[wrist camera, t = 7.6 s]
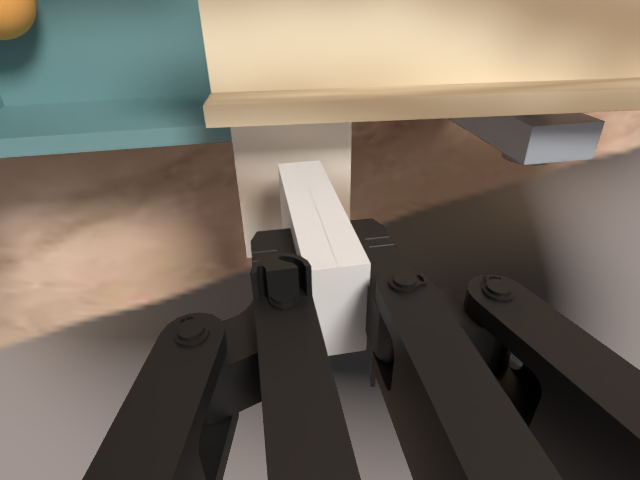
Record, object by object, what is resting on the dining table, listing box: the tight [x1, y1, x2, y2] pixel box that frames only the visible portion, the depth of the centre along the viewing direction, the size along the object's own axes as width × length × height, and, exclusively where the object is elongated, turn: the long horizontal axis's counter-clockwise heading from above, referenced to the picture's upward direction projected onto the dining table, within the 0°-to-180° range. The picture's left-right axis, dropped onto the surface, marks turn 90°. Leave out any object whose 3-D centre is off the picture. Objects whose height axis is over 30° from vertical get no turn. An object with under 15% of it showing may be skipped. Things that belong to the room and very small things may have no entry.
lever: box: [198, 0, 640, 258], centre depth 16 cm, size 14×27×4 cm, turn 91°
